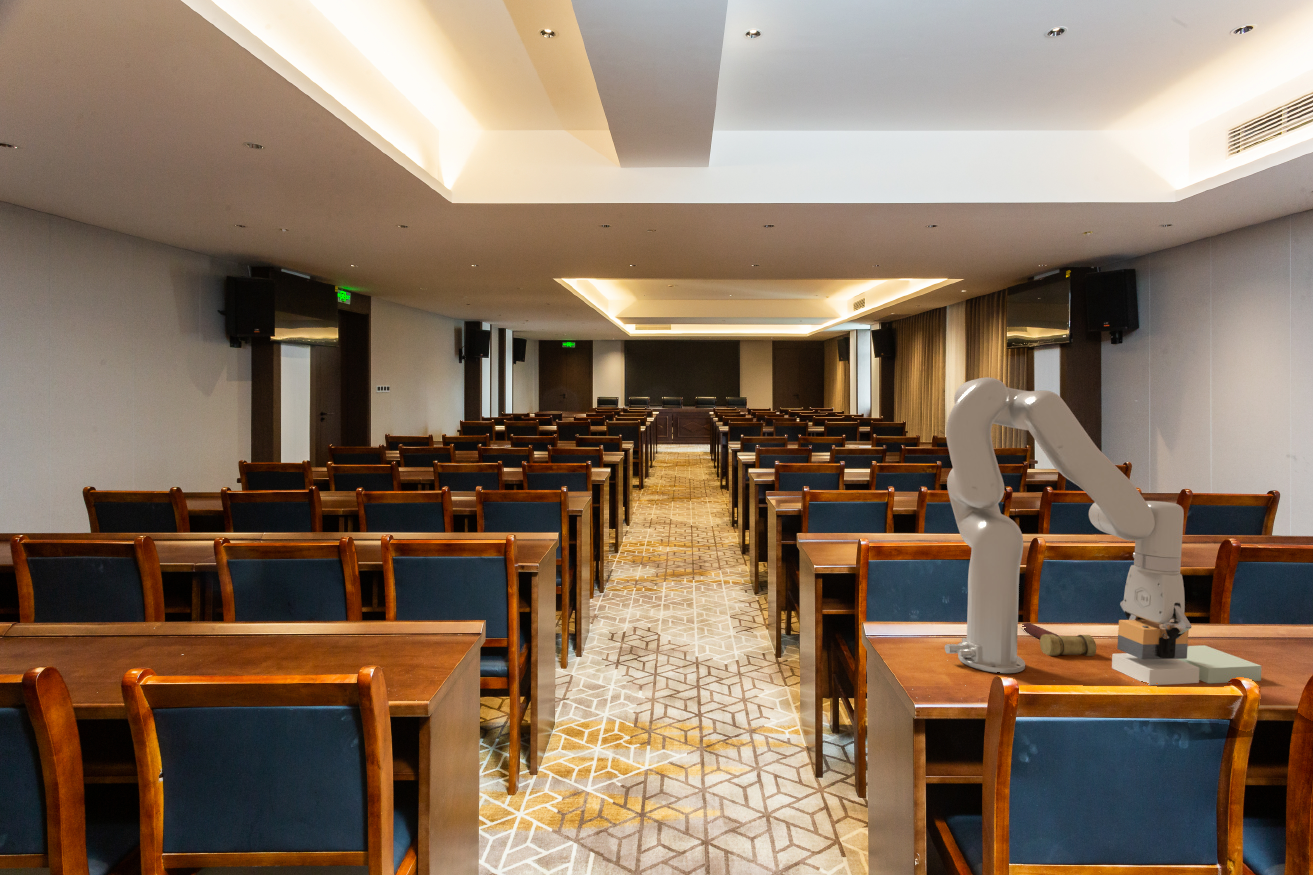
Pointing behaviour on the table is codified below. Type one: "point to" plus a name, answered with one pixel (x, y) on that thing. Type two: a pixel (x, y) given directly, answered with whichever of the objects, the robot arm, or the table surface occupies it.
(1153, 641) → the housing cover
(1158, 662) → the stand
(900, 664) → the table surface
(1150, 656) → the housing base
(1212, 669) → the stand
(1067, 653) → the gavel
